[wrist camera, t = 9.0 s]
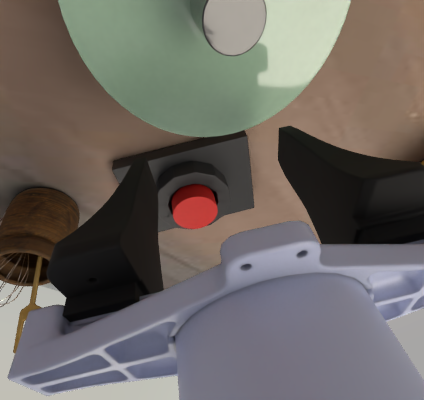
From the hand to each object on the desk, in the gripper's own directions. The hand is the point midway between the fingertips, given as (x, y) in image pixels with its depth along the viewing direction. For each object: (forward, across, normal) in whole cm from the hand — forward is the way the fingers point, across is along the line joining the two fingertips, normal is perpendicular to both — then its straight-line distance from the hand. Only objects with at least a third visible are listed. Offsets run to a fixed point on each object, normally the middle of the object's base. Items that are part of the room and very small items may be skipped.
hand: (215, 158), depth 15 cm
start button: (+7, +2, +9) cm, 11 cm away
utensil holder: (+10, +16, +8) cm, 21 cm away
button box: (+10, +2, +9) cm, 13 cm away
